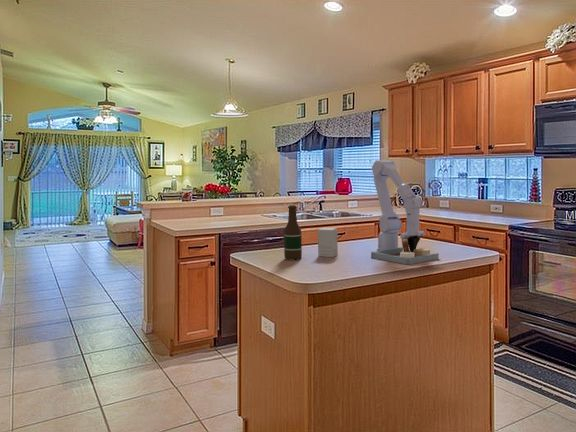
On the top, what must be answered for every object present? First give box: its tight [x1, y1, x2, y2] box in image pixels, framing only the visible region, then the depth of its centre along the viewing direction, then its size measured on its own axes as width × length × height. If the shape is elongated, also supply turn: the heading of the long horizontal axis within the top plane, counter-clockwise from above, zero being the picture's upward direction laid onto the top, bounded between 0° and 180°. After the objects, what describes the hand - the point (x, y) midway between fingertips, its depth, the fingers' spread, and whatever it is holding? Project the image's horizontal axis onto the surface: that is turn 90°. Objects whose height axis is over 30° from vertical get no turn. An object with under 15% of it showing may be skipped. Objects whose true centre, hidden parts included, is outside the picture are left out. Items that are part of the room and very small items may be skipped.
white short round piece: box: [399, 251, 415, 258], centre depth 199 cm, size 6×6×4 cm
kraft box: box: [413, 247, 431, 257], centre depth 207 cm, size 5×5×4 cm
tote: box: [370, 246, 440, 265], centre depth 208 cm, size 21×20×2 cm
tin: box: [401, 238, 410, 252], centre depth 209 cm, size 15×3×8 cm, turn 167°
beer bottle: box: [283, 204, 303, 260], centre depth 210 cm, size 8×8×24 cm
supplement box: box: [317, 227, 339, 258], centre depth 216 cm, size 7×7×13 cm
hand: (412, 252), depth 216 cm, fingers closed
